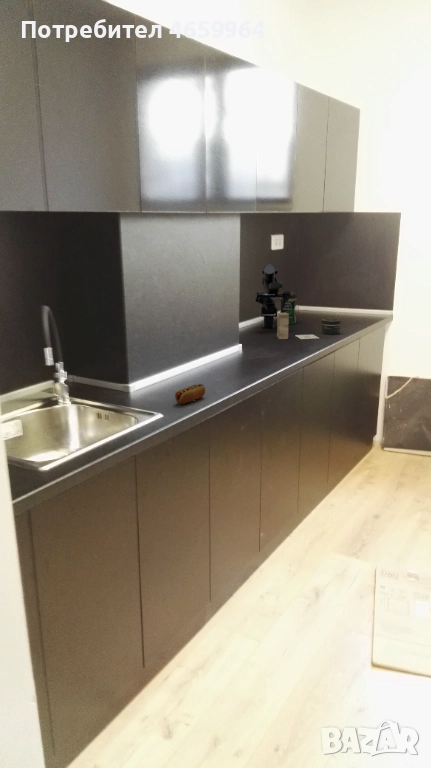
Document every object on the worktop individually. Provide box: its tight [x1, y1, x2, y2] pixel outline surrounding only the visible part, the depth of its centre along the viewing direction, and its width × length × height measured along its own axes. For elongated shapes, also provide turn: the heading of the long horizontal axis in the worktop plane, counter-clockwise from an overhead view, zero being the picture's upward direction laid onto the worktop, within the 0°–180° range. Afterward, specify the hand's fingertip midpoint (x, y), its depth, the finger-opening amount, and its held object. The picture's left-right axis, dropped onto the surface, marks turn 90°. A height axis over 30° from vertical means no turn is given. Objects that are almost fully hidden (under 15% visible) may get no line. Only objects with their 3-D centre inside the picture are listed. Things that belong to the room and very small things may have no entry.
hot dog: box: [174, 383, 206, 405], centre depth 198 cm, size 5×13×5 cm, turn 143°
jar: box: [320, 317, 342, 336], centre depth 310 cm, size 10×10×8 cm
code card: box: [295, 334, 319, 340], centre depth 302 cm, size 10×10×1 cm
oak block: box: [276, 312, 290, 340], centre depth 297 cm, size 4×4×13 cm
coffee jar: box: [279, 291, 298, 325], centre depth 339 cm, size 10×8×19 cm
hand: (275, 309), depth 307 cm, fingers open, 9 cm apart
